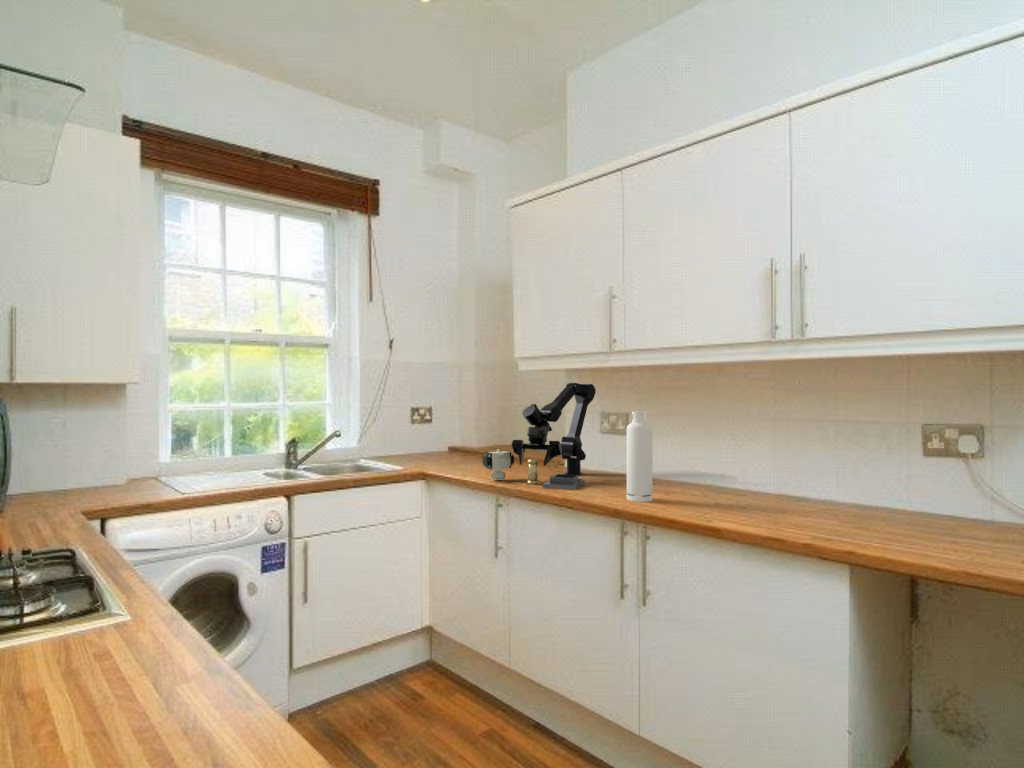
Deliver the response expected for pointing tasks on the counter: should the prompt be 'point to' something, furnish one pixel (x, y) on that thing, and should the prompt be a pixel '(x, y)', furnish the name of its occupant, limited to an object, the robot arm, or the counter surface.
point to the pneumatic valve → (498, 463)
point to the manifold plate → (564, 482)
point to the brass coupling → (532, 471)
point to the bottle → (639, 459)
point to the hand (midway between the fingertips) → (532, 464)
